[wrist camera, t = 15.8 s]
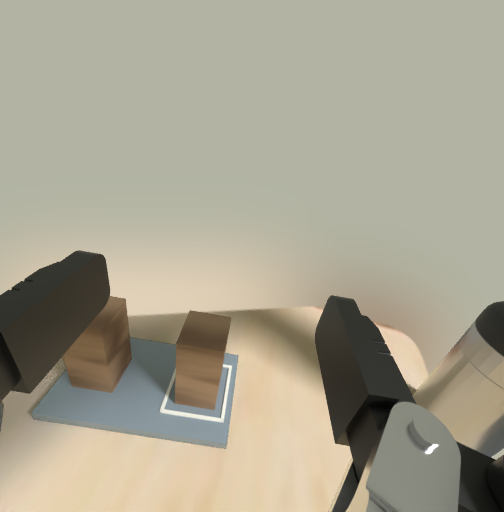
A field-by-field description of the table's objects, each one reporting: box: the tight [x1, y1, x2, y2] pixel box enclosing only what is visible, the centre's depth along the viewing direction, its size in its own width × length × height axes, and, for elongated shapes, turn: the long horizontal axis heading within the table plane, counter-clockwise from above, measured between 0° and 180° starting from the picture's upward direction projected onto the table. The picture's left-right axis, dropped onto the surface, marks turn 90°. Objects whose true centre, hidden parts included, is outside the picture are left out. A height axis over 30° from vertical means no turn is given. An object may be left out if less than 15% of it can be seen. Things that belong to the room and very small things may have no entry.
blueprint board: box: [31, 337, 238, 449], centre depth 33 cm, size 12×22×1 cm, turn 86°
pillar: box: [175, 311, 231, 410], centre depth 31 cm, size 5×5×11 cm
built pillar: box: [62, 296, 132, 393], centre depth 30 cm, size 5×5×11 cm
